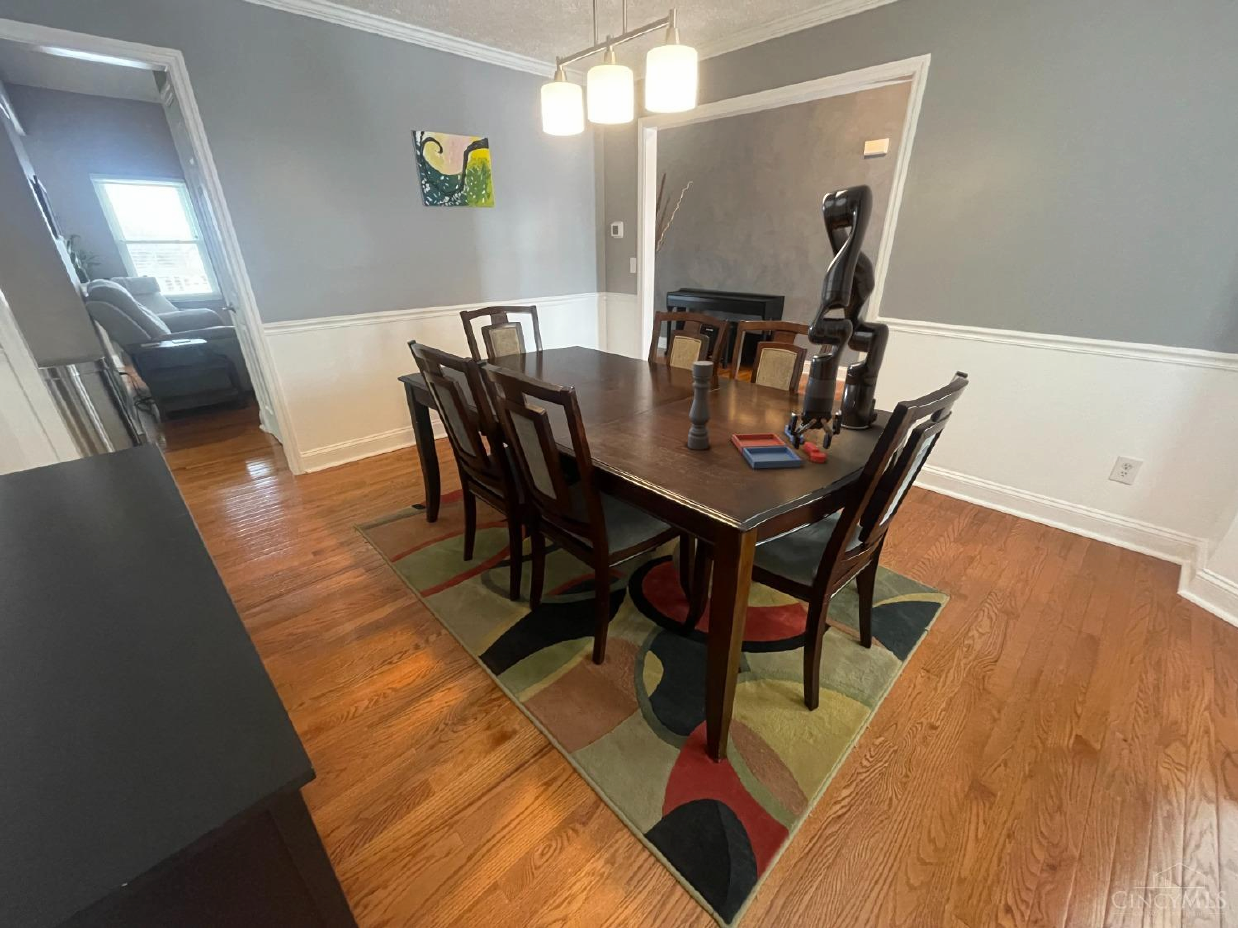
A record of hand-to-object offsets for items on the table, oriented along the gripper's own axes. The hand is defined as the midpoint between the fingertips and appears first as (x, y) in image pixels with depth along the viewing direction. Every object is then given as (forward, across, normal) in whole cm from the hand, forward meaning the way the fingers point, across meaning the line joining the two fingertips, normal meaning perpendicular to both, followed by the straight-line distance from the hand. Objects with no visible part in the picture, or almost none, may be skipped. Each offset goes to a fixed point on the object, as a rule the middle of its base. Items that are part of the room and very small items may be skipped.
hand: (810, 448), depth 140 cm
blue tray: (+2, -13, -4) cm, 13 cm away
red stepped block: (+2, 0, -2) cm, 3 cm away
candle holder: (+2, -31, +9) cm, 32 cm away
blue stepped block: (+2, 0, +13) cm, 13 cm away
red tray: (+2, -13, +7) cm, 15 cm away
